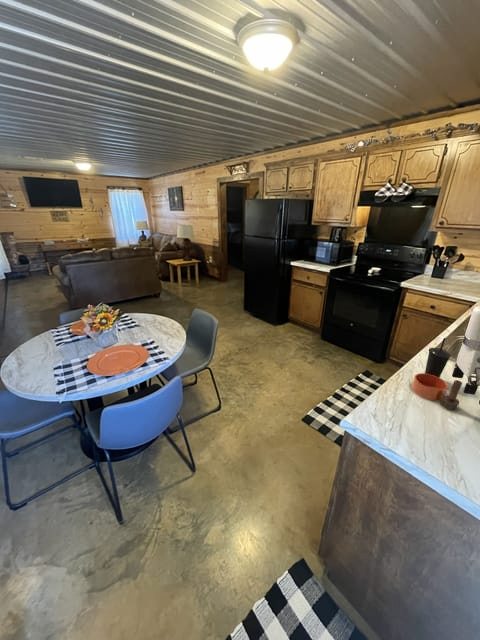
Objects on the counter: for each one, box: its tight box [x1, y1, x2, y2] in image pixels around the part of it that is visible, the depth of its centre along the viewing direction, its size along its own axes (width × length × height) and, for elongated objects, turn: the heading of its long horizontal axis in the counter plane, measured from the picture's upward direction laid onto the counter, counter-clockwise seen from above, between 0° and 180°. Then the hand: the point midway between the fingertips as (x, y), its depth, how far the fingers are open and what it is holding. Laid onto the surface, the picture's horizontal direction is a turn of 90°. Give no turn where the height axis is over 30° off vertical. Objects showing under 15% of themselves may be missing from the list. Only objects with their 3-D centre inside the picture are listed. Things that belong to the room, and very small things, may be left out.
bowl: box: [411, 372, 449, 402], centre depth 105 cm, size 11×11×5 cm
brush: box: [441, 379, 463, 412], centre depth 95 cm, size 5×5×11 cm
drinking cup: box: [424, 337, 452, 378], centre depth 109 cm, size 8×8×20 cm
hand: (462, 385), depth 93 cm, fingers open, 9 cm apart
